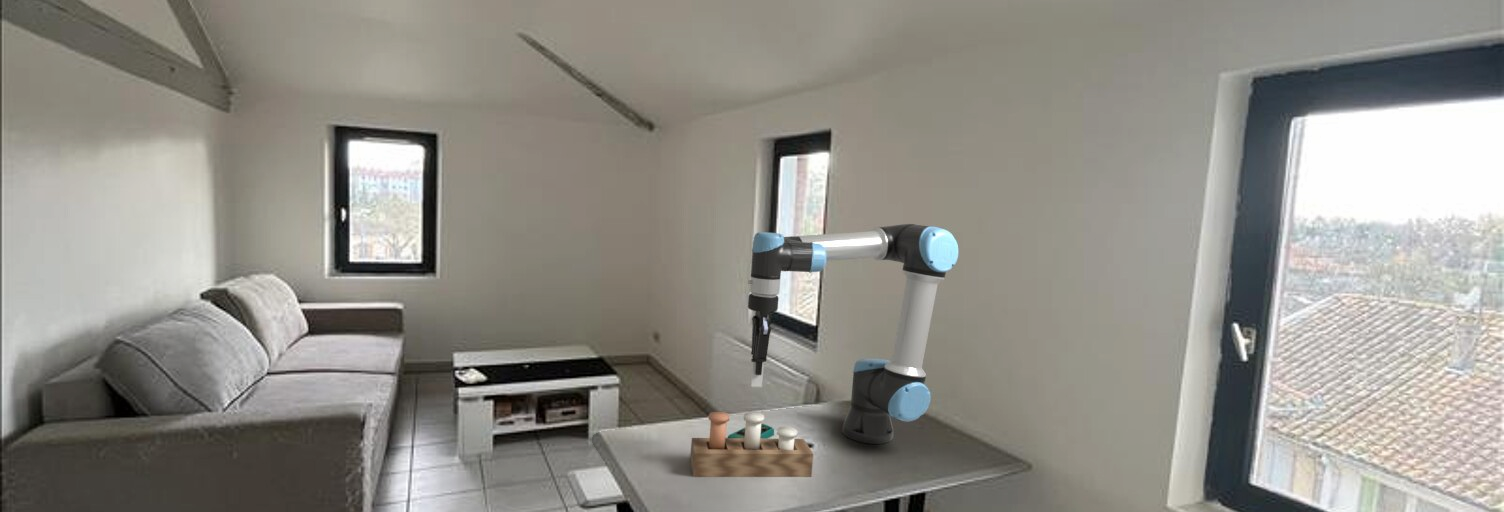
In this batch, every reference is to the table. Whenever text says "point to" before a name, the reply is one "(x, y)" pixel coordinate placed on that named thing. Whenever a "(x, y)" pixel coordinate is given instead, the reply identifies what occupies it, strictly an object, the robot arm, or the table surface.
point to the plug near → (786, 438)
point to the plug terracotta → (718, 430)
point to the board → (750, 459)
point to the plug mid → (752, 430)
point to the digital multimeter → (765, 433)
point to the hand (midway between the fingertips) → (756, 385)
